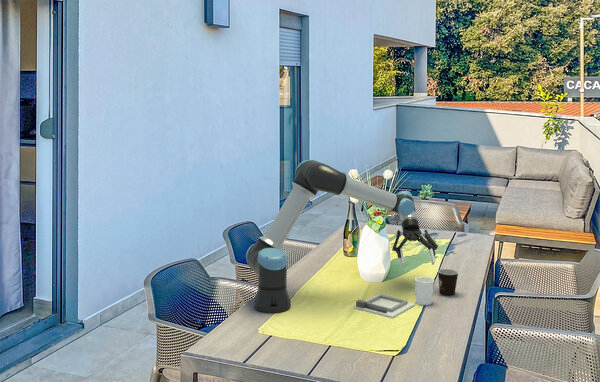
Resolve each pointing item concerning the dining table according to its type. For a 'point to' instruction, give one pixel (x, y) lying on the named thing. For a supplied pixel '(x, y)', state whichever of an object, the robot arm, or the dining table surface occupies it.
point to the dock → (384, 305)
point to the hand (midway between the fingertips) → (418, 263)
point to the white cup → (424, 290)
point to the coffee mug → (447, 281)
